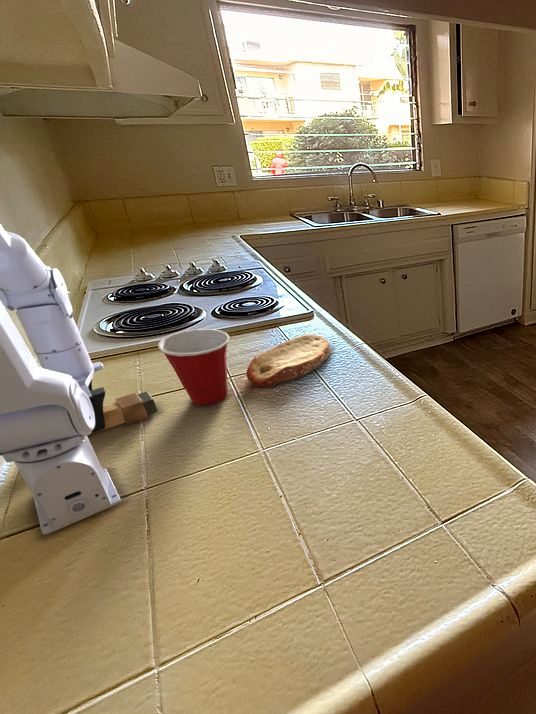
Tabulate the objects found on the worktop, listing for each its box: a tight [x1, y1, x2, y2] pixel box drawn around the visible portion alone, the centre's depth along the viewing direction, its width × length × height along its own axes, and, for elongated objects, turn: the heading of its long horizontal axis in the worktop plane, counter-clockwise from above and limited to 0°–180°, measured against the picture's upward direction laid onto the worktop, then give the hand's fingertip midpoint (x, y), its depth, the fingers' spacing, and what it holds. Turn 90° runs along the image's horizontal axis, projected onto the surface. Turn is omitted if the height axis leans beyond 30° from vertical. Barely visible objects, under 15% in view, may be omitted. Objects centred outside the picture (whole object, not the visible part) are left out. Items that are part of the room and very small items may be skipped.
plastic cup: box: [157, 328, 231, 407], centre depth 83 cm, size 11×11×12 cm
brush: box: [88, 391, 159, 436], centre depth 77 cm, size 13×4×3 cm, turn 136°
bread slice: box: [246, 333, 332, 388], centre depth 98 cm, size 18×18×4 cm
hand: (92, 420), depth 76 cm, fingers open, 7 cm apart
